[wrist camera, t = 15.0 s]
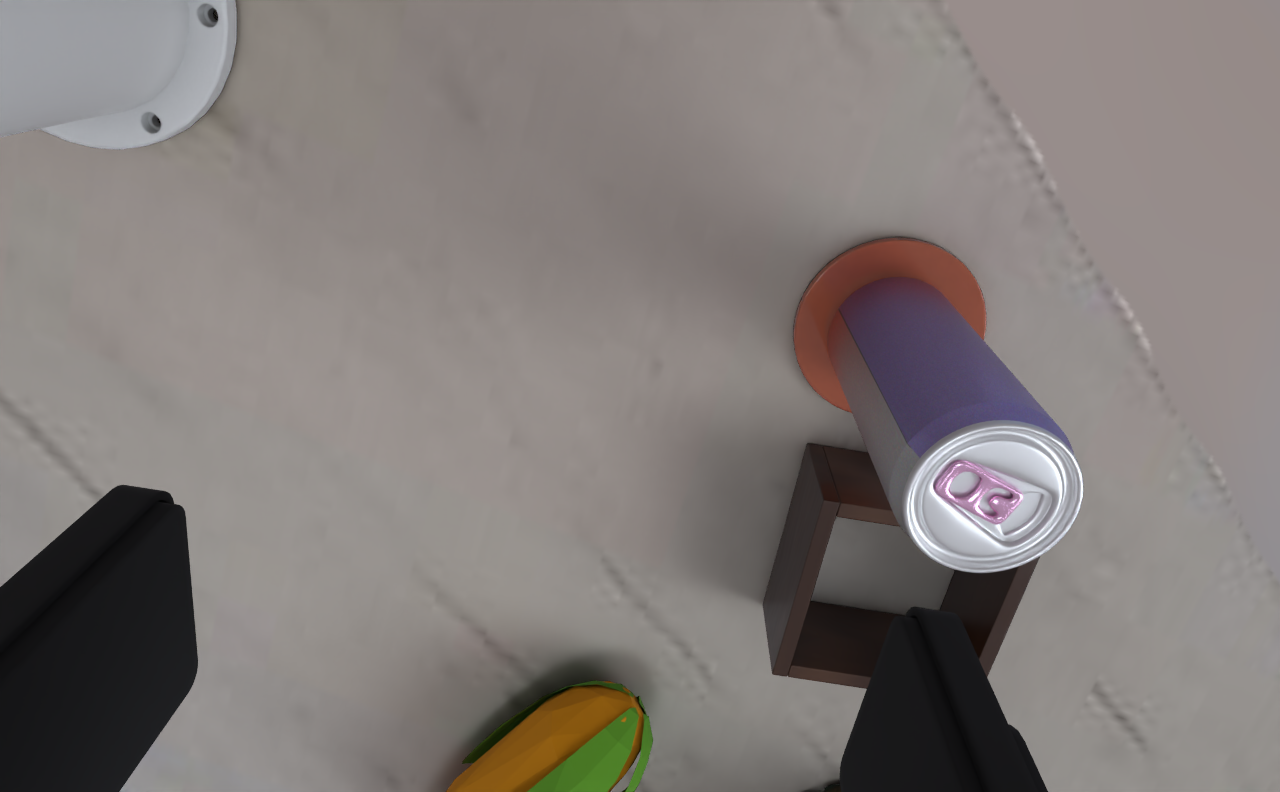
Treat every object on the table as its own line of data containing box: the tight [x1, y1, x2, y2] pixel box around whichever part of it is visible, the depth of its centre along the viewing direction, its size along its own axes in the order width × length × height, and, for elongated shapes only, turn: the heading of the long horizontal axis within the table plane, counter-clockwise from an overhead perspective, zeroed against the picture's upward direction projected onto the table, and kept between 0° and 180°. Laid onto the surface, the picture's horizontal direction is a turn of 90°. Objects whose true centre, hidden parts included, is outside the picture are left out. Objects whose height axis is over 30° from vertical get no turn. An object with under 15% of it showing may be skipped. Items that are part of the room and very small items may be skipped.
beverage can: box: [828, 277, 1083, 573], centre depth 34 cm, size 6×6×15 cm
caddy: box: [763, 443, 1040, 689], centre depth 44 cm, size 11×11×6 cm
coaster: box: [793, 238, 986, 413], centre depth 41 cm, size 9×9×1 cm
